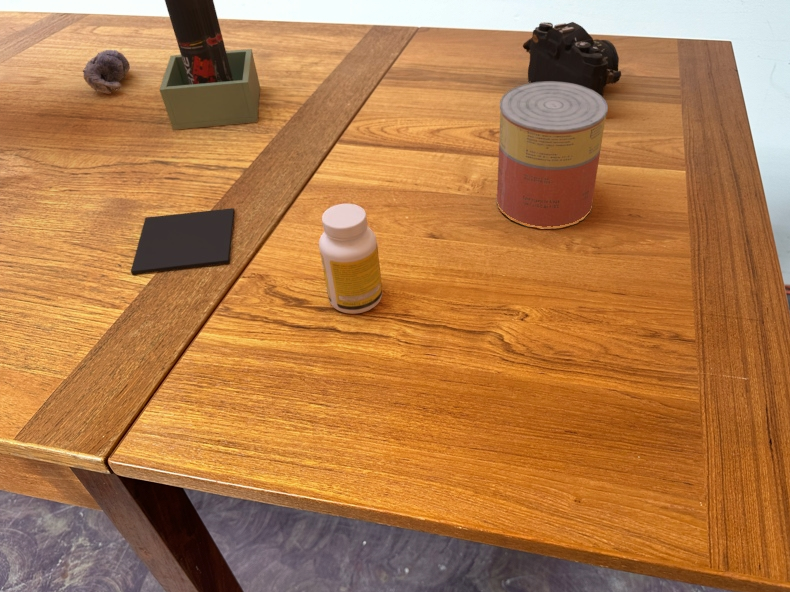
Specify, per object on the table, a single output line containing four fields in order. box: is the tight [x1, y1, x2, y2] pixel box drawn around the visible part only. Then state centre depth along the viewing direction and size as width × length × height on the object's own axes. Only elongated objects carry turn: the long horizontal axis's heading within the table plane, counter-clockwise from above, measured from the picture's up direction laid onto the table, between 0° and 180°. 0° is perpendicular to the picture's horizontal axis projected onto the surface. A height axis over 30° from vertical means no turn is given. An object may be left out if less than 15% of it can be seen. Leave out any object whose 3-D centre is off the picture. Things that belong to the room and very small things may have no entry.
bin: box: [159, 48, 261, 131], centre depth 95 cm, size 12×12×6 cm
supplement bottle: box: [318, 203, 383, 315], centre depth 63 cm, size 5×5×10 cm
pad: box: [130, 207, 236, 276], centre depth 74 cm, size 10×10×1 cm
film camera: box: [522, 21, 622, 98], centre depth 95 cm, size 18×12×10 cm
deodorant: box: [164, 0, 233, 85], centre depth 91 cm, size 6×6×15 cm
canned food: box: [496, 81, 609, 227], centre depth 74 cm, size 11×11×12 cm
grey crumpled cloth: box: [82, 49, 131, 95], centre depth 102 cm, size 5×5×10 cm
